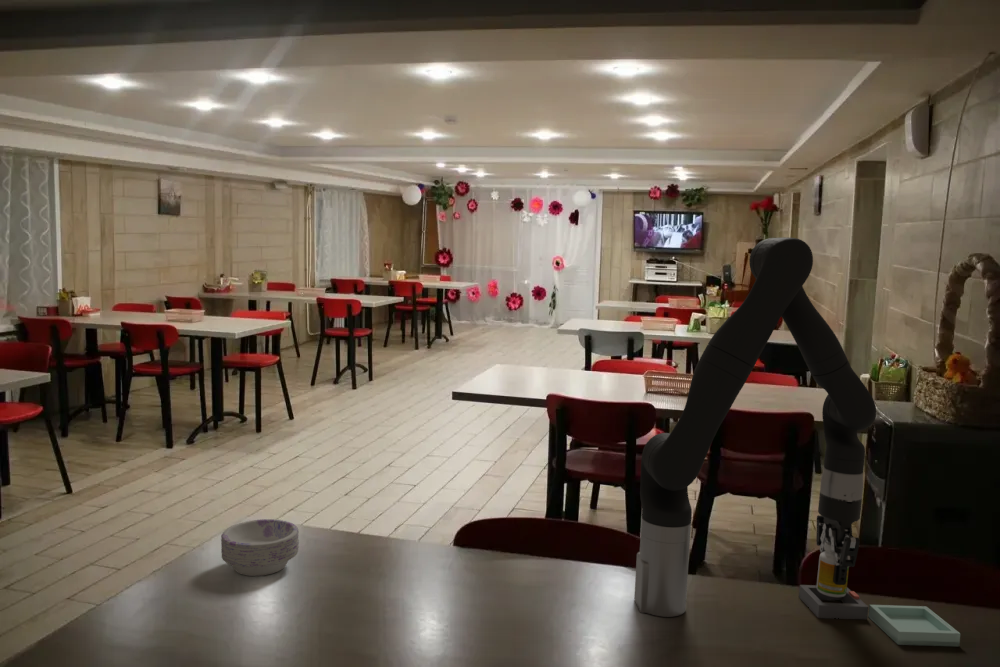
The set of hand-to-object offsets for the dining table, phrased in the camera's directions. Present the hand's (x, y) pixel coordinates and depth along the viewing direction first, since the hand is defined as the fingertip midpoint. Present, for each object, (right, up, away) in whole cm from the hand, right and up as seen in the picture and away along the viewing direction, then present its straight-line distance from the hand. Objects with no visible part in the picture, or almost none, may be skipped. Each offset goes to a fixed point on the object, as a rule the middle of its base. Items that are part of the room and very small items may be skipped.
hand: (832, 577), depth 155 cm
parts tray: (+11, -7, -8) cm, 16 cm away
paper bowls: (-114, -1, +9) cm, 114 cm away
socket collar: (0, -6, +1) cm, 6 cm away
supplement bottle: (0, -3, 0) cm, 3 cm away
